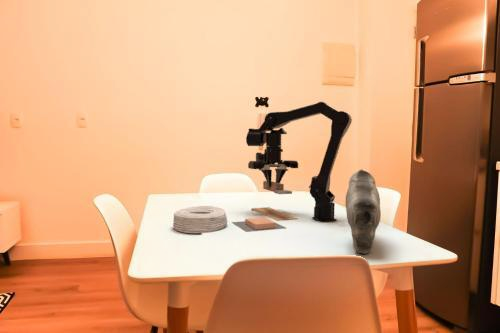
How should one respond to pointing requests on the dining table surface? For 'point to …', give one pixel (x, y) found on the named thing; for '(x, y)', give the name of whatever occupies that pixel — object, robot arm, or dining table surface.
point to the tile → (260, 223)
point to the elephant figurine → (363, 210)
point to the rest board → (273, 214)
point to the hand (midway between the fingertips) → (273, 187)
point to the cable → (199, 219)
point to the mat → (250, 229)
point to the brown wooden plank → (276, 188)
